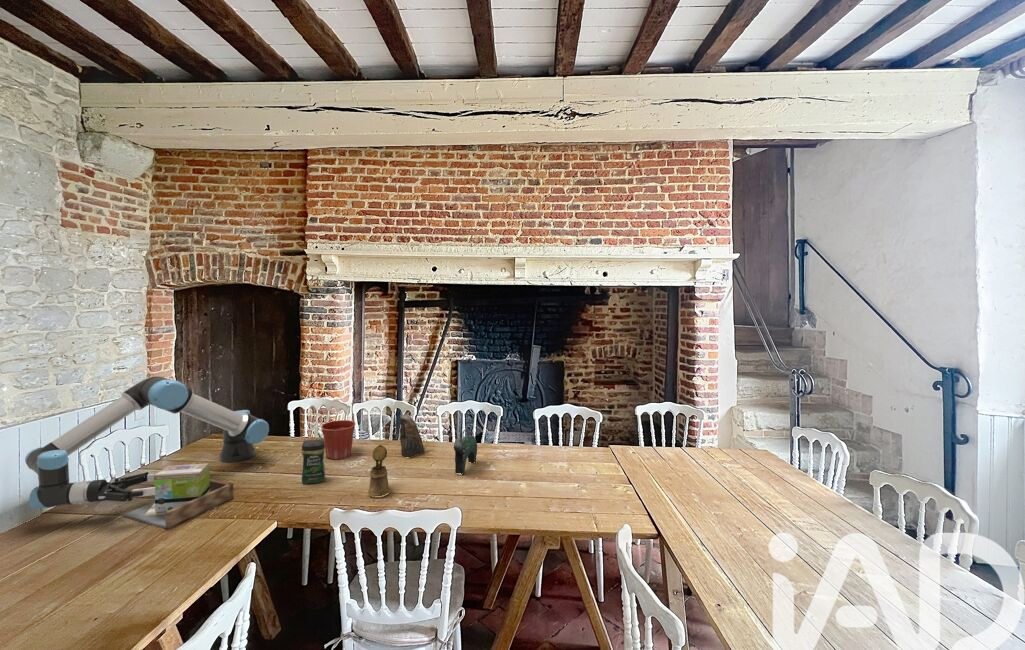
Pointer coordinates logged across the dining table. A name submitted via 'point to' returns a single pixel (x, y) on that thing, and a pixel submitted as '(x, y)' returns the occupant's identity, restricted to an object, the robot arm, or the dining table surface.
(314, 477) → the coffee jar
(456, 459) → the ceramic cat
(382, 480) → the brown bell
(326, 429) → the flower pot
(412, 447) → the owl
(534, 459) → the dining table surface
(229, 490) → the wooden tray
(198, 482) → the tea box
